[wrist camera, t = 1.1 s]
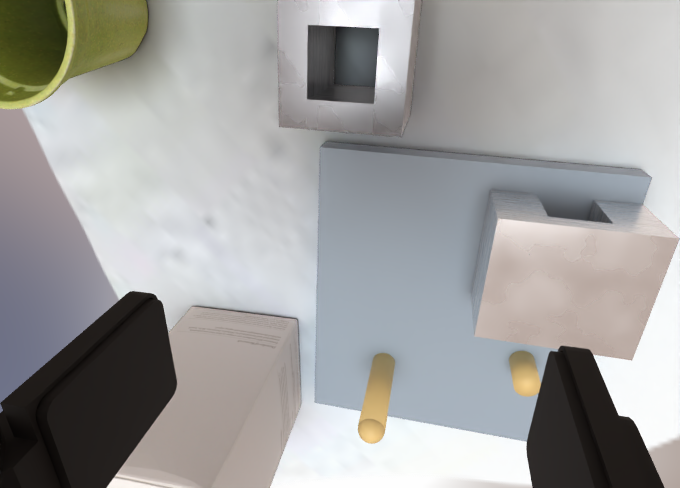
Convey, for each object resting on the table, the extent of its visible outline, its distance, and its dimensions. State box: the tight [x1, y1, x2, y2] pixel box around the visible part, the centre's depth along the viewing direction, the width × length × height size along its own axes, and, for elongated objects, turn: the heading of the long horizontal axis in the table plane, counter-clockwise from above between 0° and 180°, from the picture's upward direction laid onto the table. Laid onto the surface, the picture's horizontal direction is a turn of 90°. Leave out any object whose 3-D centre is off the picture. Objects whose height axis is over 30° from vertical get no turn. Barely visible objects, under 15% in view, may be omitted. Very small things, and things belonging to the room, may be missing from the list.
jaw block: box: [277, 0, 422, 137], centre depth 24 cm, size 6×6×6 cm
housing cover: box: [471, 189, 679, 360], centre depth 26 cm, size 7×8×4 cm
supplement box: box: [107, 307, 301, 488], centre depth 31 cm, size 9×9×15 cm
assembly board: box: [315, 142, 652, 444], centre depth 28 cm, size 20×18×9 cm
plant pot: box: [0, 0, 148, 109], centre depth 25 cm, size 9×9×9 cm
